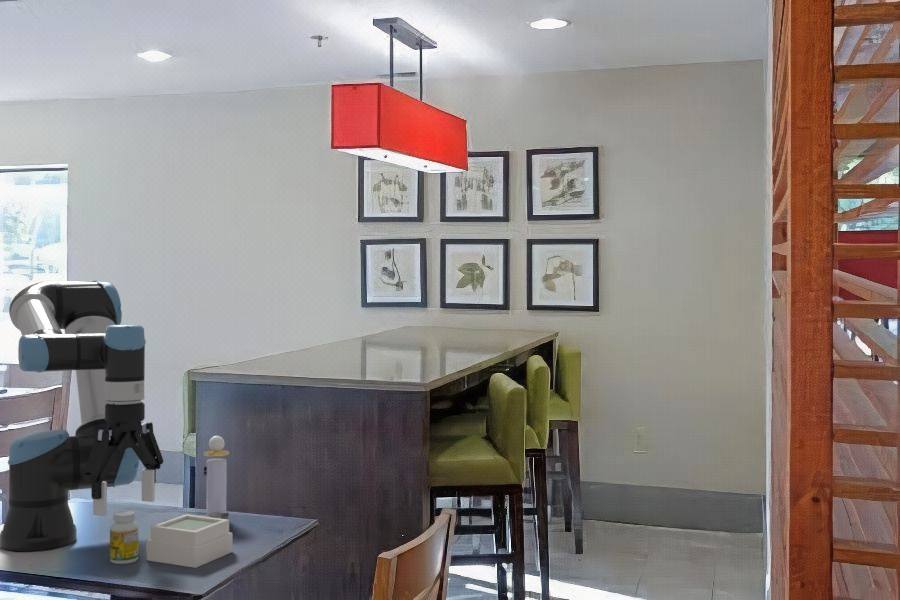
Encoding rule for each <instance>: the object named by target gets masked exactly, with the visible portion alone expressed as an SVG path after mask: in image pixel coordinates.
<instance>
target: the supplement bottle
mask: <svg viewBox="0 0 900 600" xmlns="http://www.w3.org/2000/svg"><path fill="white" fill-rule="evenodd" d="M135 515H136V514H135V512H134V511H133V510H132V511H131V510H123V511H121V510H120V511H117V512H116V511H115V512H114V513H113V518H112V519H113V521H114V522H113V523H112V524H111V525H110V528H109V541H110V542H109V545H110V546H109V553H110V554H109V557H110V559H109V561H110V563H112V564H114V565H116V564H117V565H127V564H132V563H135V562H136V561H138V560H139V525H138V523H137V522H136V521H135V519H136V516H135Z"/></svg>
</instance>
